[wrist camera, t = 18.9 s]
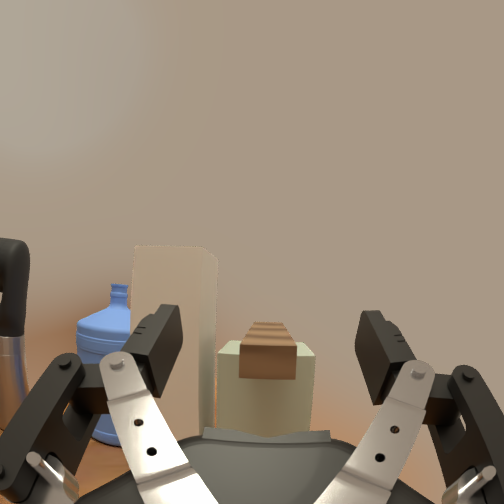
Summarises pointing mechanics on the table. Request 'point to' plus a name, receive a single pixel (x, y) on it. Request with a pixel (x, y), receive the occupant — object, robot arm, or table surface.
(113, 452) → the table surface
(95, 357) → the water jug
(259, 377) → the walnut plank
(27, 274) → the robot arm
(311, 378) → the sage step
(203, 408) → the off-white stand
